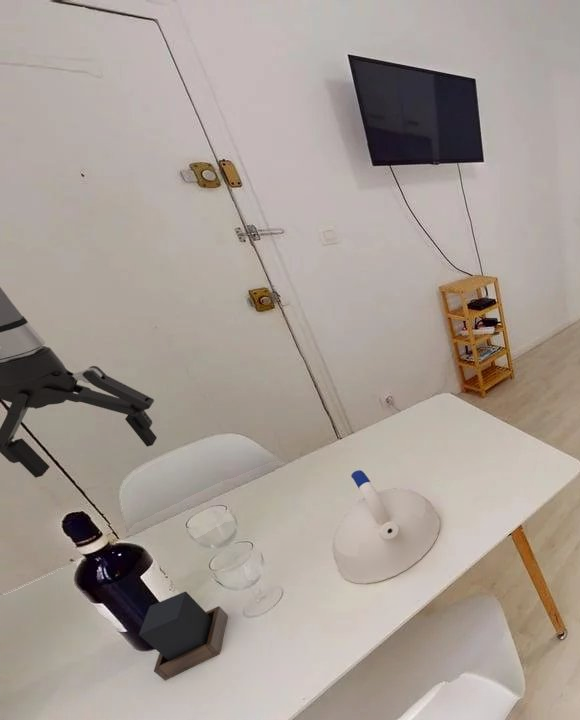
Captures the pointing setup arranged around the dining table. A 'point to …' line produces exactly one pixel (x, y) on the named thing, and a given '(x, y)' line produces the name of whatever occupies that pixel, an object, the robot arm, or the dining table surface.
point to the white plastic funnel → (383, 533)
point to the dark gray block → (176, 626)
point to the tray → (199, 654)
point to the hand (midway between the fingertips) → (100, 456)
